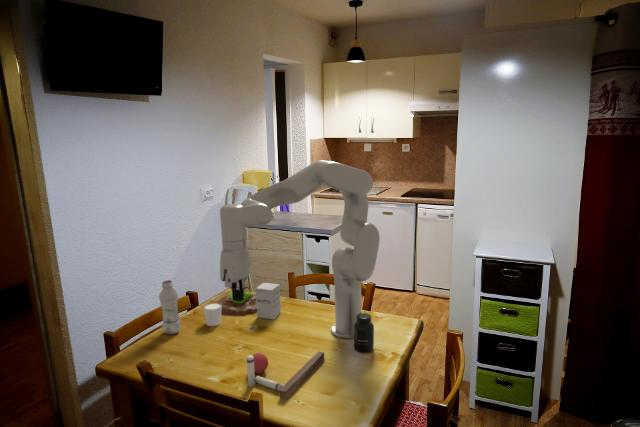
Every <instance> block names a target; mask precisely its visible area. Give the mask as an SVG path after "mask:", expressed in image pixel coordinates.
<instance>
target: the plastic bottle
mask: <svg viewBox="0 0 640 427" xmlns="http://www.w3.org/2000/svg"><path fill="white" fill-rule="evenodd" d="M161 288H162V289H161V291H160V293H159V297H158V298H159V302H160V305H161V306H160V307H161V311H162V324H161V325H162V326H161V328H162V332H163V333H164V334H165V335H174V334H177V333H179V332H180V331H181V328H182V324H181V320H180V316H179V312H178V298H179V296H178V292H177V291H176V289H175V288H174V282H173V280H171V279H170V280H169V279H167V280H164V281H162V282H161Z"/></svg>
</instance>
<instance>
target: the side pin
mask: <svg viewBox="0 0 640 427" xmlns="http://www.w3.org/2000/svg"><path fill="white" fill-rule="evenodd" d="M252 355H253V354H252ZM252 355H251V354H250V355H249V354H248V355H247V356H246V368H247V369H246V370H247V381H248V382H247V383H248V384H247V385H248V387H249V388H253V387H255V386H256V383H255V378H256V376H255V374H256V373H254V356H252Z"/></svg>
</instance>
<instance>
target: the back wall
mask: <svg viewBox="0 0 640 427" xmlns="http://www.w3.org/2000/svg"><path fill="white" fill-rule="evenodd" d="M324 361H325V352H324V351H320V350H319V351H317V352H316V353H315V354H314V355H313V356H312V357H311V358H310V359H309V360H308V361H307V362H306V363H305V364H304V365H303V366H302V367H301V368H300V369H299V370H298V371H297V372H296V373H295V374H294V375H293V376H292V377H291V378H290V379H289V380H288V381H287V382H286V383H284V385H283V387H282V388H281V389H280V390H279V391H278V392H279V399H282V398H284V399H283V400H285V399H286V400H287V399H288V398H289V397H290V396H292V394H293V393H294V392H295V391H296V390H297V389H298V388H299V387H300V386H301V384H302V383H304V381H305V380H307V378H308V377H309V376H311V374H312V373H313V372H314V371H315V370H316V369H317V368H318V367H319V366H320V364H322V363H323V362H324Z"/></svg>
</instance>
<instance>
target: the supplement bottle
mask: <svg viewBox="0 0 640 427" xmlns="http://www.w3.org/2000/svg"><path fill="white" fill-rule="evenodd" d="M374 332H375V326H374V323H372V316H371V314H370V313H366V312H361V313H360V314H358V315H357V322H355V324H354V338H353V349H354V350H355V351H356V352H357V353H360V354H368V353H370V352H372V351H373V350H374V347H375V346H374V341H375V334H374Z"/></svg>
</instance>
